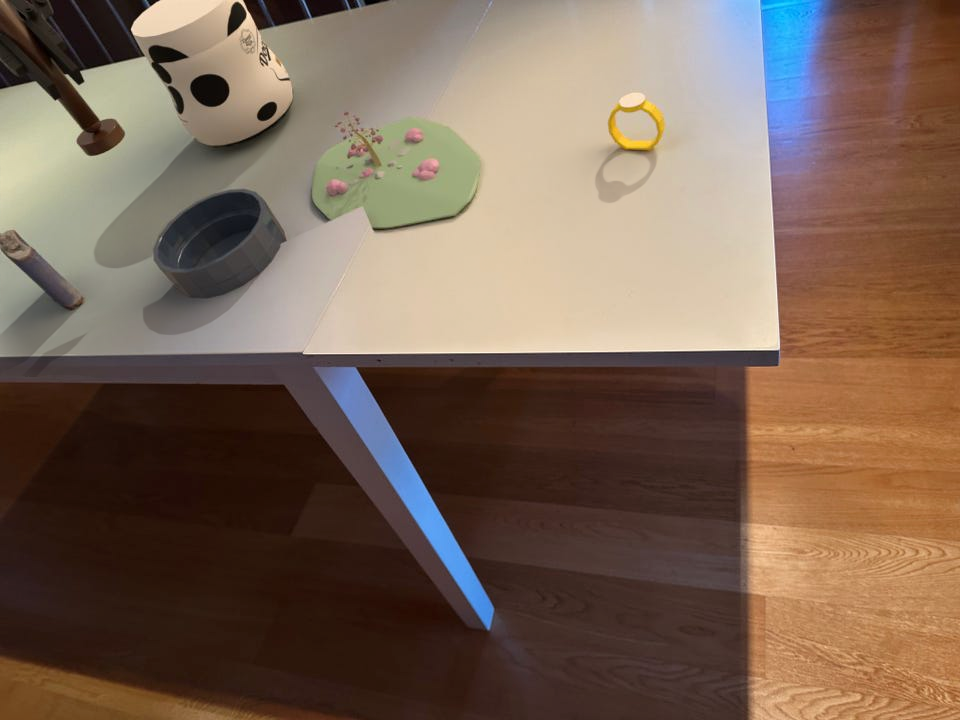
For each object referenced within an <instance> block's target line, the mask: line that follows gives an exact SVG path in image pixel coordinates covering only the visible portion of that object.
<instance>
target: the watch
mask: <svg viewBox="0 0 960 720" xmlns="http://www.w3.org/2000/svg"><path fill="white" fill-rule="evenodd" d="M620 111H621V112H623V113H625V114H630V113H631V114H632V113H635V112H638V111H642V112H643V113H646V114H648V115H649V117H650V118H651V119H652V120H653V121H654V123H655V127H656V130H657V133H656V136H655V138H653V139H652V140H631V139H629V138H627V137H626V136H624V135H623V134H622V133H621V131H620V129H619V127H618V126H617V120H616V115H617V113H618V112H620ZM607 127H608V133H609V135H610V136H611V138H612V140H613V141H614V143H616V145H618V146H620V147H621V148H622V149H624V150H629V151H630V150H633V151H636V150H637V151H638V150H639V151H648V152H649V151H651V150H653V148H655V147H656V146H657V145H658V144H659V142H660V141H661V139H662V137H663V134H664V131H665V128H666V123H665V119H664V115H663V113H662V112H661V111H660V110H659V108H658V107H657V106H656V105H655V104H654V103H652V102H650V101H648V100H647V99H646V95H645V94H644V93H641V92H631V93H627V94H625V95H623V96H622V97H621V98H620V99H619V100H618V103H617V104H616V105H615V106H614V107H613V110H611V112H610V115H609V118H608V120H607Z"/></svg>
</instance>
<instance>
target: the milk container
mask: <svg viewBox="0 0 960 720" xmlns="http://www.w3.org/2000/svg"><path fill="white" fill-rule="evenodd" d="M130 30H131V33H132V35H133V37H134V39H135V42H136V44H137V45H138V47H139V49H140V51H141V52H142V54H143V55H144V56H145V58H146V59H147V61H148V64H149V65H150V67H151V68H152V70H153V71H154V72H155V74H156V75H157V77H158V78H159V79H160V81H161V82H162V83H163V85H164V87H165V88H166V90H167V92H168V94H169V96H170V98H171V101H172V104H173V106H174V109H175V112H176V115H177V117H178V118H179V120H180V122H181V124H182V125H183V126H184V128H185V129H186V130H187V131H188V133H190V135H192V137H193V138H194V139H195V140H197V141H198V142H199V143H201V144H203V145H205V146H208V147H212V148H229V147H234V146H237V145H242V144H244V143H247V142H250V141H251V140H254V139H256V138H258V137H260V136H262V135H264V134H265V133H267V132H268V131H269V130H271V129H273V128H274V127H275V126H276V125H278V123H279V122H280V121H282V119H284V118H285V117H286V115H287V113H288V112H289V110H290V108H291V106H292V104H293V101H294V88H293V86H292V85H293V84H292V81H291V78H290V75H289V74H288V72H287V69H286V68H285V66H284V64H283V63H282V62H281V61H280V59H279V58H278V56H277V55H276V54H275V53H274V52H273V51H272V50H271V48H270V47H269V46H268V45H267V44H266V42H265V41H264V39H263V37H262V35H261V33H260V31H259V30H258V26H257V25H256V23H255V21H254V19H253V17H252V15H251V13H250V12H249V10H248V8H247V6H246V3H245V1H244V0H158V1H156V2H155V3H154V4H152V5H150V7H148V8H147V9H145V10H144V11H143V12H142V13H141V14H140V15H139V16H138V17H137V18H136V19H135V20H134V21H133V24H132V25H131V28H130Z"/></svg>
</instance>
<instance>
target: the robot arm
mask: <svg viewBox="0 0 960 720" xmlns="http://www.w3.org/2000/svg"><path fill="white" fill-rule="evenodd" d="M6 1H7V2H8V3H9V5H10V6H11V7H12V9H13V10H14V11H15V12H16V14H17V15H18V16H19V17H20V19H21V20H22V21H23V23H24V24H25V25H26V26H27V28H28V29H29V30H30V31H31V33H32V34H33V35H34V37H35V38H36V39H37V40H38V42H39V43H40V44H41V46H42V47H43V48H44V49H45V51H46V52H47V53H48V54H49V56H50V57H51V58H52V59H53V61H54V62H55V63H56V65H57V66H58V67H59V68H60V69H62V71H63V72H65V74H67V75H68V76H69V78H70V79H72V81H74V83H75V84H76V85H78V86H80V85H82V84H84V83H85V82H86V81H85V79H84V77H83V74H82V73H81V70H80V67H78V65H76V63H75V62H74V61H72V59H71V58H70V57H69V56H68V55H67V54H66V53H65V52H64V51H66V50H67V46H66V44H65V42H64V40H63V37H62V36H61V34H60V33H59V32H58V31H57V30H56V29H55V28H54V27H53V26H52V25H51V24H50V23H49V22H48V21H47V19H48V18H51V17H52V16H53V15H54V9H53V7H52V5H51V2H50V0H30V2H29V1H28V0H6ZM0 62H1V63H2V64H3V65H4V66H5V67H6V69H8V70H9V71H10V72H11V73H12V74H13V75H14V76H16V77H18V78H22V77H23V76H25V75H27V74H28V75H29V77H31V78H32V79H33V81H34V82H36V83H37V84H38V86H39V87H41V88H42V89H43V90H44V91H45V92H46V93H47V95H48V96H50V97H51V98H52V100H53V101H55V102H56V101H58V100H57V99H59V98H60V97H61V95H60V93H59V92H58V90H57V88H56V86H55V84H54V83H53V82H52V81H51V80H50V79H49V78H48V77H47V76H46V75H45V74H44V73H43V72H42V71H41V70H40V69H39V68H38V67H37V66H36V65H35V64H34V63H33V61H32V60H31V59H30V58H29V57H28V56H27V55H26V54H25V53H24V52H23V51H22V50H21V49H20V48H19V47H18V46H17V45H16V44H15V43H14V42H13V41H12V40H11V39H10V38H9V37H8V36H7V35H6V34H5V33H3V32H2V33H1V34H0Z"/></svg>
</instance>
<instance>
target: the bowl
mask: <svg viewBox="0 0 960 720" xmlns="http://www.w3.org/2000/svg"><path fill="white" fill-rule="evenodd" d="M287 241H288V240H287V236H286V233H285V230H284V229H283V227H282V225H281V224H280V222H279V220H278V219H277V218H276V215H274V213H273V212H272V210H271V208H270V207H269V205H268V204H267V202H266V200H265V199H264V198H263V197H262V196H261V194H259V193H257V192H256V191H254V190H250V189H246V188H234V189H233V188H232V189H226V190H223V191H219V192H215V193H212V194H210V195H208V196H206V197H203V198H201V199H199V200H197V201H195V202H194V203H192V204H191V205H189V206H187V207H186V208H185V209H182V211H180V212H179V213H178V214H177V215H176V216H174V218H172V219H171V220H170V221H169V222H167V224H166V225H165V226H164V228H163V229H162V231H161V232H160V233H159V235H158V236H157V238H156V240H155V243H154V246H153V247H152V252H153V254H152V255H153V256H152V257H153V258H152V260H153V262H154V263H155V264H156V266H157V267H158V269H159V270H160V271H161V272H162V273H163V275H165V277H166V278H167V279H168V280H169V281H170V282H171V283H172V285H173V286H174V287H175V288H176V289H177V290H178V291H179V292H180V294H182V295H184V296H187V297H189V298H191V299H211V298H215V297H219V296H223V295H226V294H228V293H231V292H232V291H234V290H237V289H239V288H241V287H243V286H245V285H246V284H248V283H249V282H251V281H252V280H254V279H255V278H256V277H258V276H259V275H260V274H261V273H262V272H263V271H264V270H265V269H266V268H267V267H268V266H269V265H270V264H272V262H273V260H274V259H275V257H276V255H277V254H278V252H279V251H280V249H281V247H282V244H284V243H286V242H287Z"/></svg>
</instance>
